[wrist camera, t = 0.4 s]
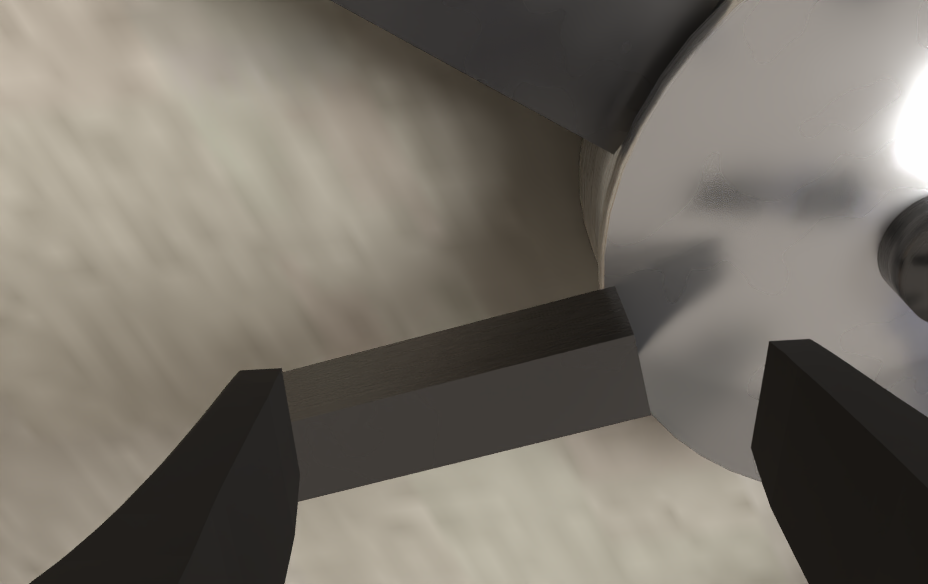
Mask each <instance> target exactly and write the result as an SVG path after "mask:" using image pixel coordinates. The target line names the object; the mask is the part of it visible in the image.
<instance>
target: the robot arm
mask: <svg viewBox="0 0 928 584" xmlns="http://www.w3.org/2000/svg"><path fill="white" fill-rule="evenodd" d="M751 450H752V453H753V456H754V460H755V463H756V466H757V469H758V472H759V475H760V478H761V481H762V484H763V487H764V490H765V492H766V495H767V498H768V501H769V504H770V507H771V509H772V511H773V513H774V515H775V517H776V519H777V521H778V523H779V525H780V527H781V529H782V531H783V533H784V535H785V537H786V539H787V541H788V543H789V545H790V547H791V549H792V551H793V553H794V555H795V557H796V559H797V561H798V563H799V565H800V567H801V569H802V571H803V573H804V575H805V577H806V579H807V581H808V583H809V584H928V417H927V416H925V415H924V414H922V413H921V412H919V411H918V410H916V409H915V408H913V407H912V406H910V405H909V404H907V403H906V402H904V401H903V400H901V399H900V398H898V397H897V396H895V395H894V394H892V393H891V392H889V391H888V390H886V389H885V388H883V387H882V386H880V385H879V384H877V383H876V382H875V381H873V380H872V379H870V378H869V377H867V376H866V375H864V374H863V373H861V372H860V371H859V370H857V369H856V368H854V367H853V366H851V365H850V364H848V363H847V362H845V361H844V360H842V359H841V358H839V357H838V356H837V355H835V354H833V353H832V352H830V351H829V350H827V349H826V348H824V347H823V346H821V345H819V344H818V343H816V342H814V341H813V340H811V339H797V340H779V341H769V345H768V350H767V356H766V362H765V368H764V373H763V379H762V385H761V391H760V397H759V402H758V408H757V414H756V420H755V426H754V431H753V437H752V443H751ZM299 480H300V471H299V466H298V460H297V454H296V448H295V442H294V437H293V431H292V425H291V419H290V414H289V408H288V402H287V396H286V391H285V385H284V379H283V373H282V368H278V369H260V370H242V371H239V372H238V373H237V374H236V375H235V376H234V378H233V379H232V380H231V381H230V382H229V384H228V385H227V386H226V387H225V389H224V390H223V391H222V392H221V394H220V395H219V396H218V397H217V399H216V400H215V401H214V402H213V404H212V405H211V406H210V407H209V409H208V410H207V411H206V412H205V413H204V415H203V416H202V417H201V418H200V420H199V421H198V422H197V423H196V424H195V426H194V427H193V428H192V429H191V430H190V432H189V433H188V434H187V435H186V436H185V437H184V439H183V440H182V441H181V442H180V443H179V444H178V445H177V447H176V448H175V449H174V450H173V451H172V452H171V454H170V455H169V456H168V457H167V458H166V459H165V460H164V462H163V463H162V464H161V465H160V466H159V467H158V468H157V469H156V470H155V472H154V473H153V474H152V475H151V476H150V477H149V478H148V479H147V480H146V481H145V482H144V483H143V484H142V485H141V486H140V487H139V488H138V489H137V490H136V491H135V492H134V493H133V494H132V495H131V496H130V497H129V498H128V500H127V501H126V502H125V503H124V504H123V505H122V506H121V507H120V508H119V509H118V510H117V511H116V512H115V513H113V514H112V515H111V516H110V517H109V518H108V519H107V520H106V521H105V522H104V523H103V524H102V525H101V526H100V527H99V528H97V529H96V530H95V531H94V532H93V533H92V534H91V535H89V536H88V537H87V538H86V539H85V540H84V541H82V542H81V543H80V544H79V545H78V546H77V547H75V548H74V549H73V550H72V551H71V552H70V553H68V554H67V555H66V556H65V557H64V558H62V559H61V560H60V561H59V562H57V563H56V564H55V565H53V566H52V567H51V568H49V569H48V570H47V571H45V572H44V573H43V574H41V575H40V576H39V577H37V578H36V579H35V580H33V581H32V582H31V583H29V584H284V583H285V578H286V574H287V569H288V564H289V560H290V555H291V550H292V546H293V541H294V536H295V526H296V516H297V505H298V493H299Z"/></svg>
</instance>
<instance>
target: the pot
mask: <svg viewBox="0 0 928 584" xmlns="http://www.w3.org/2000/svg"><path fill="white" fill-rule="evenodd" d="M331 1H333V2H334V3H336V4H338V5H340V6H342V7H344V8H345V9H347V10H349V11H351V12H353V13H355V14H357V15H358V16H360V17H362V18H364V19H366V20H368V21H369V22H371V23H373V24H375V25H377V26H379V27H380V28H382V29H384V30H386V31H388V32H390V33H391V34H393V35H395V36H397V37H399V38H401V39H402V40H404V41H406V42H408V43H410V44H412V45H413V46H415V47H417V48H419V49H421V50H423V51H424V52H426V53H428V54H430V55H432V56H434V57H435V58H437V59H439V60H441V61H443V62H445V63H446V64H448V65H450V66H452V67H454V68H456V69H457V70H459V71H461V72H463V73H465V74H467V75H468V76H470V77H472V78H474V79H476V80H478V81H479V82H481V83H483V84H485V85H487V86H489V87H490V88H492V89H494V90H496V91H498V92H500V93H501V94H503V95H505V96H507V97H509V98H511V99H512V100H514V101H516V102H518V103H520V104H522V105H523V106H525V107H527V108H529V109H531V110H533V111H534V112H536V113H538V114H540V115H542V116H544V117H545V118H547V119H549V120H551V121H553V122H555V123H557V124H558V125H560V126H562V127H564V128H566V129H568V130H569V131H571V132H573V133H575V134H577V135H579V136H580V137H582V143H581V150H580V158H579V194H580V201H581V207H582V214H583V220H584V224H585V228H586V231H587V234H588V237H589V241H590V244H591V247H592V250H593V253H594V255H595V258H596V261H597V263H598V238H599V231H600V225H601V218H602V212H603V205H604V199H605V196H606V193H607V189H608V186H609V182H610V179H611V176H612V172H613V169H614V166H615V162H616V159H617V157H618V154H619V152H620V150H621V148H622V145H623V143H624V141H625V139H626V136H627V134H628V132H629V130H630V127H631V125H632V123H633V121H634V118H635V117H636V115H637V113H638V111H639V110H640V108H641V106H642V105H643V103H644V101H645V100H646V98H647V96H648V95H649V93H650V91H651V90H652V88H653V86H654V85H655V83H656V81H657V80H658V78H659V76H660V75H661V74H662V72H663V71H664V70H665V69H666V67H667V66H668V65H669V63H670V62H671V61H672V59H673V58H674V57H675V56H676V54H677V53H678V52H679V50H680V49H681V48H682V46H683V45H684V44H685V42H686V41H687V40H688V39H689V37H690V36H691V35H692V34H693V33H694V32H695V31H696V30H697V29H698V28H699V27H700V26H701V25H702V24H703V23H704V21H705V20H706V19H707V18H708V17H709V16H710V15H711V14H712V13H713V12H714V11H715V10H716V9H717V8H718V7H719V6H720V5H721V4H722V3H723V2H724V1H725V0H331Z"/></svg>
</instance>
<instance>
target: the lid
mask: <svg viewBox="0 0 928 584" xmlns="http://www.w3.org/2000/svg"><path fill="white" fill-rule="evenodd" d="M598 280H599V286H600V290H597V291H593V292H589V293H585V294H582V295H578V296H574V297H570V298H566V299H562V300H559V301H555V302H551V303H547V304H543V305H539V306H536V307H532V308H528V309H524V310H520V311H516V312H513V313H509V314H505V315H501V316H497V317H493V318H490V319H486V320H482V321H478V322H474V323H470V324H467V325H463V326H459V327H455V328H451V329H447V330H444V331H440V332H436V333H432V334H428V335H424V336H421V337H417V338H413V339H409V340H405V341H401V342H397V343H394V344H390V345H386V346H382V347H378V348H374V349H371V350H367V351H363V352H359V353H355V354H351V355H348V356H344V357H340V358H336V359H332V360H328V361H325V362H321V363H317V364H313V365H309V366H305V367H302V368H298V369H294V370H290V371H286V372H282V373H283V379H284V385H285V391H286V396H287V402H288V408H289V414H290V419H291V425H292V431H293V437H294V442H295V448H296V454H297V460H298V466H299V471H300V480H299V493H298V502H299V501H303V500H307V499H311V498H315V497H319V496H323V495H327V494H331V493H335V492H340V491H344V490H348V489H352V488H356V487H360V486H364V485H368V484H372V483H376V482H380V481H384V480H388V479H392V478H397V477H401V476H405V475H409V474H413V473H417V472H421V471H425V470H429V469H433V468H437V467H441V466H445V465H449V464H453V463H458V462H462V461H466V460H470V459H474V458H478V457H482V456H486V455H490V454H494V453H498V452H502V451H506V450H510V449H515V448H519V447H523V446H527V445H531V444H535V443H539V442H543V441H547V440H551V439H555V438H559V437H563V436H567V435H572V434H576V433H580V432H584V431H588V430H592V429H596V428H600V427H604V426H608V425H612V424H616V423H620V422H624V421H628V420H633V419H637V418H641V417H645V416H649V415H651V413H652V415H653V416H654V417H655V418H656V419H657V420H658V421H659V422H660V423H661V424H662V425H663V426H664V427H665V428H666V429H667V430H668V431H669V432H670V433H671V434H672V435H673V436H674V437H676V438H677V439H678V440H680V441H681V442H682V443H684V444H685V445H687V446H688V447H689V448H691V449H692V450H694V451H695V452H696V453H698V454H699V455H701V456H702V457H704V458H706V459H708V460H710V461H712V462H714V463H716V464H718V465H720V466H722V467H724V468H725V469H727V470H729V471H732V472H735V473H738V474H741V475H743V476H746V477H749V478H752V479H754V480H757V481H760V482H762V481H761V478H760V475H759V472H758V469H757V466H756V463H755V460H754V456H753V453H752V450H751V443H752V437H753V431H754V426H755V420H756V414H757V408H758V402H759V397H760V391H761V385H762V379H763V373H764V368H765V362H766V356H767V350H768V345H769V341H779V340H797V339H811V340H813V341H814V342H816V343H818V344H819V345H821V346H823V347H824V348H826V349H827V350H829V351H830V352H832V353H833V354H835V355H837V356H838V357H839V358H841V359H842V360H844V361H845V362H847V363H848V364H850V365H851V366H853V367H854V368H856V369H857V370H859V371H860V372H861V373H863V374H864V375H866V376H867V377H869V378H870V379H872V380H873V381H875V382H876V383H877V384H879V385H880V386H882V387H883V388H885V389H886V390H888V391H889V392H891V393H892V394H894V395H895V396H897V397H898V398H900V399H901V400H903V401H904V402H906V403H907V404H909V405H910V406H912V407H913V408H915V409H916V410H918V411H919V412H921V413H922V414H924V415H925V416H927V417H928V0H725V1H724V2H723V3H722V4H721V5H720V6H719V7H718V8H717V9H716V10H715V11H714V12H713V13H712V14H711V15H710V16H709V17H708V18H707V19H706V20H705V21H704V23H703V24H702V25H701V26H700V27H699V28H698V29H697V30H696V31H695V32H694V33H693V34H692V35H691V36H690V37H689V39H688V40H687V41H686V42H685V44H684V45H683V46H682V48H681V49H680V50H679V52H678V53H677V54H676V56H675V57H674V58H673V59H672V61H671V62H670V63H669V65H668V66H667V67H666V69H665V70H664V71H663V72H662V74H661V75H660V76H659V78H658V80H657V81H656V83H655V85H654V86H653V88H652V90H651V91H650V93H649V95H648V96H647V98H646V100H645V101H644V103H643V105H642V106H641V108H640V110H639V111H638V113H637V115H636V117H635V118H634V121H633V123H632V125H631V127H630V130H629V132H628V134H627V136H626V139H625V141H624V143H623V145H622V148H621V150H620V152H619V154H618V157H617V159H616V162H615V166H614V169H613V172H612V176H611V179H610V182H609V186H608V189H607V193H606V196H605V199H604V205H603V212H602V218H601V225H600V231H599V238H598Z"/></svg>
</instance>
